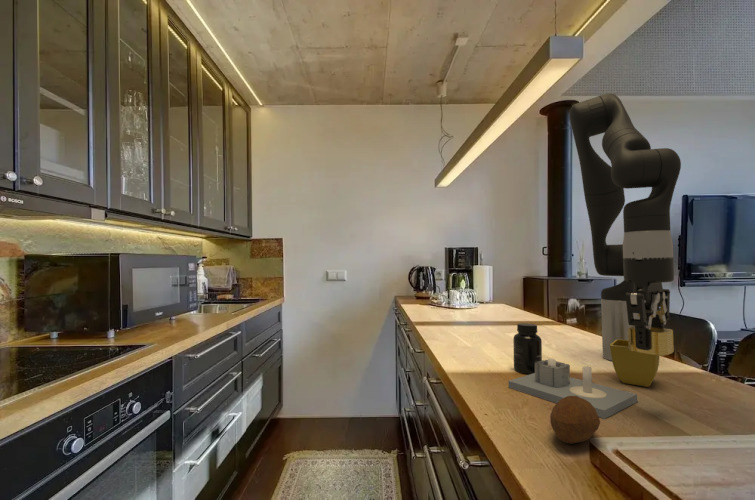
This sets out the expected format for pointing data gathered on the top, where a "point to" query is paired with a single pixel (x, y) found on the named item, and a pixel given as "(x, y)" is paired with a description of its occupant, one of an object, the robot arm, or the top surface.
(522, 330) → the supplement bottle
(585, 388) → the pegboard
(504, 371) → the top surface
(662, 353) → the brass gear
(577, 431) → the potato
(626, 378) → the flower pot
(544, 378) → the steel gear
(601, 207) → the robot arm
